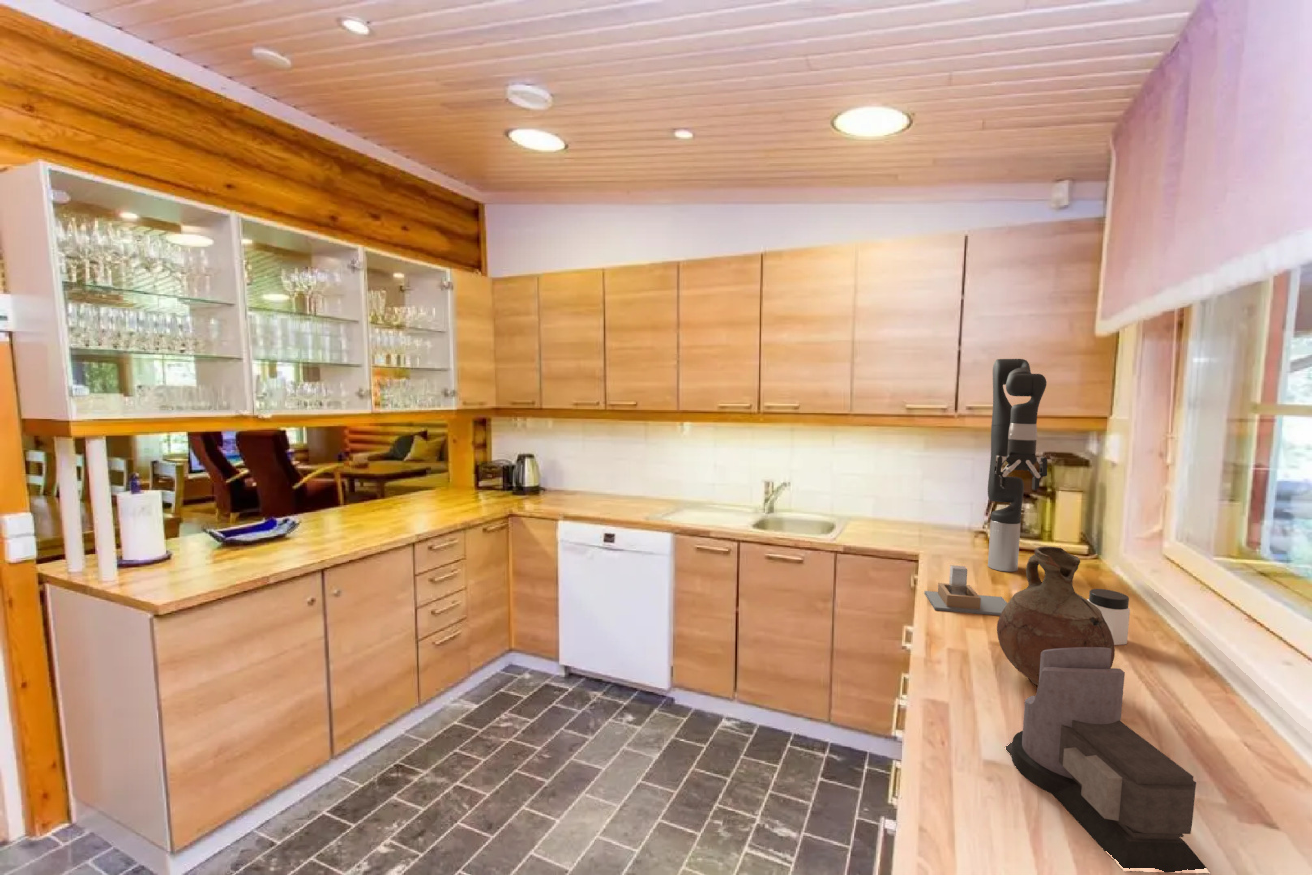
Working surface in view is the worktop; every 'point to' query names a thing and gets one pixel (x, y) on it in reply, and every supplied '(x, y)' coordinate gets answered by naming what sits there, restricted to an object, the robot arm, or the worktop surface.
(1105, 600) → the jar
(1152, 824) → the brown blocky piece
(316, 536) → the worktop surface
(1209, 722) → the worktop surface
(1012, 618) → the jug
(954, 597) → the board
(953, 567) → the block
